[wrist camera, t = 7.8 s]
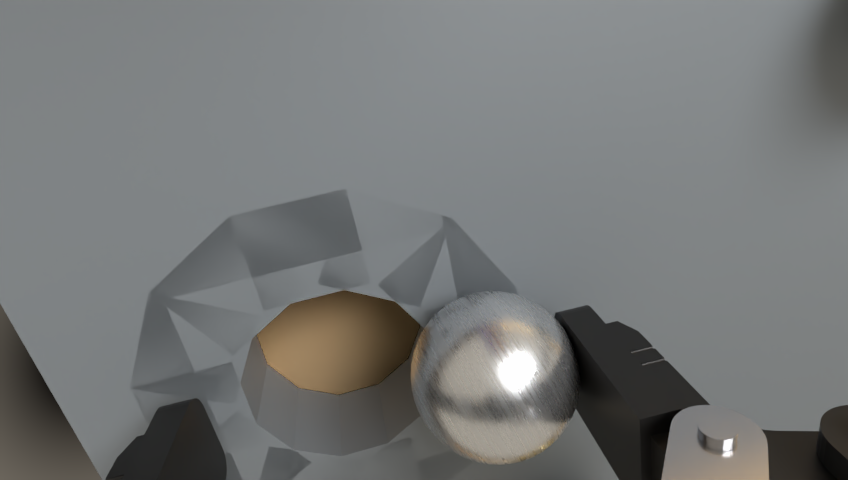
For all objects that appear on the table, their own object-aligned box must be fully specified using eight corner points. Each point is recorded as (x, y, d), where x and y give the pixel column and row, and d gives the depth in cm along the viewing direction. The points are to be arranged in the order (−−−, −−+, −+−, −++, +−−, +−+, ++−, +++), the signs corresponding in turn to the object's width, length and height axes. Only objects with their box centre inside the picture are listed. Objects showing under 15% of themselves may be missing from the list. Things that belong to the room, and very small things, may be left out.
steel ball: (377, 327, 12) (502, 252, 13) (449, 446, 13) (568, 372, 13) (383, 377, 9) (555, 273, 9) (481, 538, 9) (644, 435, 10)
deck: (966, -214, 13) (1109, -271, 10) (860, 425, 20) (930, 474, 18) (-82, -21, 10) (-198, -40, 8) (241, 615, 18) (229, 699, 16)
